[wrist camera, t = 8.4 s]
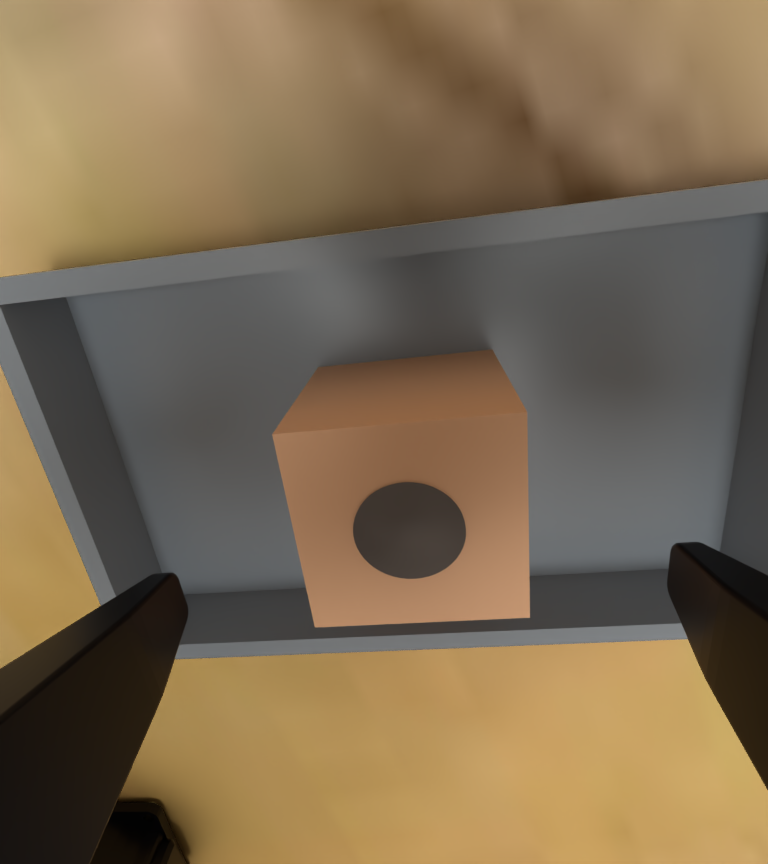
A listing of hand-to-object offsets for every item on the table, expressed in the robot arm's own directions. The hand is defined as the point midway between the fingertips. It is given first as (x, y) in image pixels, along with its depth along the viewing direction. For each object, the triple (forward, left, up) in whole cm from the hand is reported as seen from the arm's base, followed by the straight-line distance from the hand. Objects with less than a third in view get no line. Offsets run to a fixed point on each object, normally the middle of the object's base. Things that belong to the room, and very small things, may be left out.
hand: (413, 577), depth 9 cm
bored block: (0, 0, -7) cm, 7 cm away
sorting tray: (0, 0, -7) cm, 7 cm away
